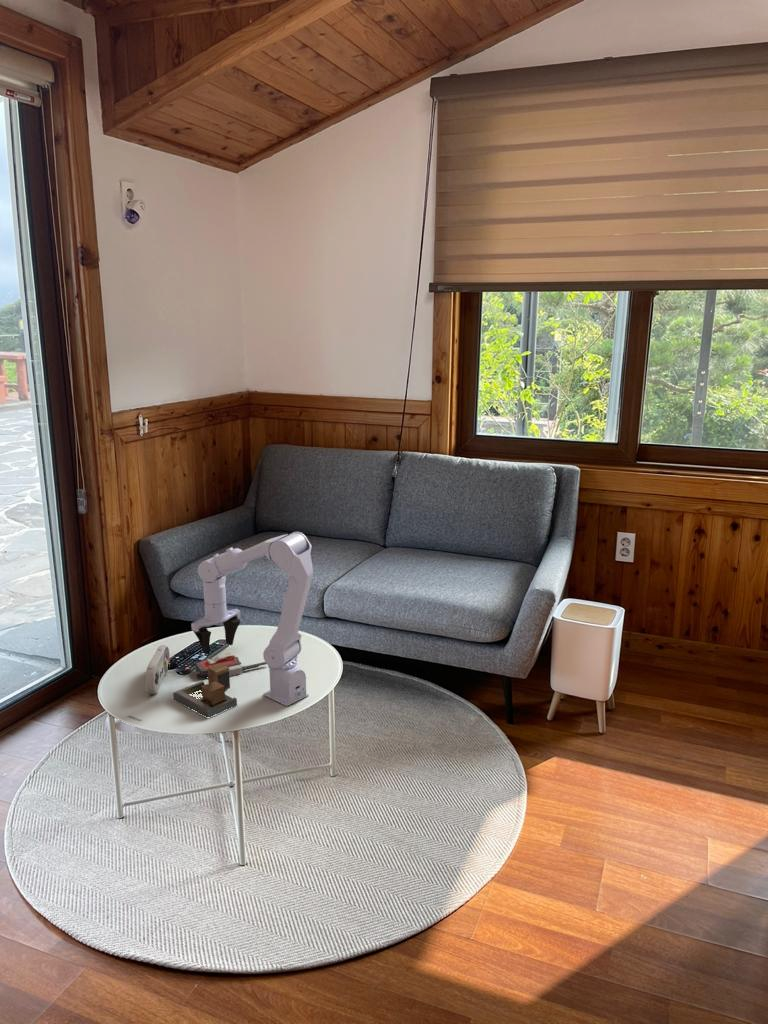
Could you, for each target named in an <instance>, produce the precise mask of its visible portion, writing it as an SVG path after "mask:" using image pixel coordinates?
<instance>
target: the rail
mask: <svg viewBox="0 0 768 1024" xmlns="http://www.w3.org/2000/svg"><path fill="white" fill-rule="evenodd" d="M199 690H201V691H202V692H198V694H200V693H201V694H202V696H203V697H202V698H201V697H199V698H200V699H199V698H198V697H197V698H198V699H196V697H193V696H190V695H189V694H192V693H193V694H195V693H194V692H196V691H199ZM225 691H226V690H225V686H224V685H222V684H220V683H218V682H216V681H214V682H212V683H209V684H208V683H207V684H205V681H203V680H201V681H199V682H196V683H193V684H191V685H189V686H186V687H184V688H181V689H178V690H176V691H173V692H172V696H173V701H175V700H176V701H175V702H177V701H178V702H177V703H179V704H180V703H181V704H180V705H182V704H183V705H182V706H184V705H185V706H184V707H186V706H187V707H186V708H188V707H189V708H190V710H191V709H193V710H195V711H197V712H198V713H200V714H202V715H204V716H206V717H211V716H213V715H215V714H218V713H220V712H222V711H224V710H226V709H229V708H231V707H233V708H235V707H237V706H238V699H237V698H236V697H231V696H229V695H227V694H226V692H225ZM193 694H192V695H193ZM196 694H197V693H196ZM198 694H197V695H198ZM236 705H237V706H236ZM234 706H235V707H234ZM189 708H188V709H189ZM231 709H232V708H231ZM193 710H192V711H193ZM229 710H230V709H229ZM195 711H194V712H195ZM197 712H196V713H197ZM224 712H225V711H224ZM198 713H197V714H198ZM222 713H223V712H222ZM200 714H199V715H200ZM220 714H221V713H220ZM202 715H201V716H202ZM218 715H219V714H218ZM204 716H203V717H204ZM206 717H205V718H206ZM213 717H214V716H213ZM211 718H212V717H211Z"/></svg>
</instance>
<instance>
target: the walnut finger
mask: <svg viewBox="0 0 768 1024" xmlns="http://www.w3.org/2000/svg"><path fill="white" fill-rule="evenodd" d="M230 677H231V676H229V667H227V666H225V665H223V664H221V663H219V664H216V665H214V666H211V667H208V678H207V679H208V681H207V682H208V683H207V684H209V683H212V682H214V681H216V682H218V683H220V684H222V685H224V686H225V689H226V690H228V689H230V688H231V683H230V682H231V681H230Z"/></svg>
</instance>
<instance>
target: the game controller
mask: <svg viewBox="0 0 768 1024" xmlns="http://www.w3.org/2000/svg"><path fill="white" fill-rule="evenodd" d="M170 659H171V658H170V648H169V646H168V645H166V644H161V645H159V646H158V647H157V649H156V651H155V653H154V654H153V656H152V658H151V660H149V663H148V664H147V667H146V671H145V681H144V683H145V684H144V685H145V686H144V687H145V691H146V693H147V695H157V694H158V693H159V691H160V690H159V689H160V687H161V686H160V685H161V683H162V681H163V679H164V677H165V676H166V675H167V674H168V672H169V670H168V664H169V665H170V663H169V662H170Z"/></svg>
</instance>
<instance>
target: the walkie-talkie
mask: <svg viewBox="0 0 768 1024" xmlns="http://www.w3.org/2000/svg"><path fill="white" fill-rule="evenodd" d="M219 663H221V664H223V665H225V666H227V667H229V676H230V677H232V675H233V676H237V675H242V674H243V672H245V671H247V670H251V669H256V668H259V667H260V666H264V665H267V664H266V662H265V661H263V662H258V663H254V664H249V665H246V666H245V665H243V666H242V665H241V664H242V662H241V661H240V660H239V657H238V656H235V655H234V654H231V653H224V654H220V655H216V656H215V657H214V658H213V659H210V658H207V659H206V660H203V661H198V662H195V664H194V666H195V667H194V669H195V668H196V669H195V672H197V673H198V674H197V673H196V678H197V679H201V678H206V679H208V678H207V677H208V667H211V666H214V665H216V664H219Z"/></svg>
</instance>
